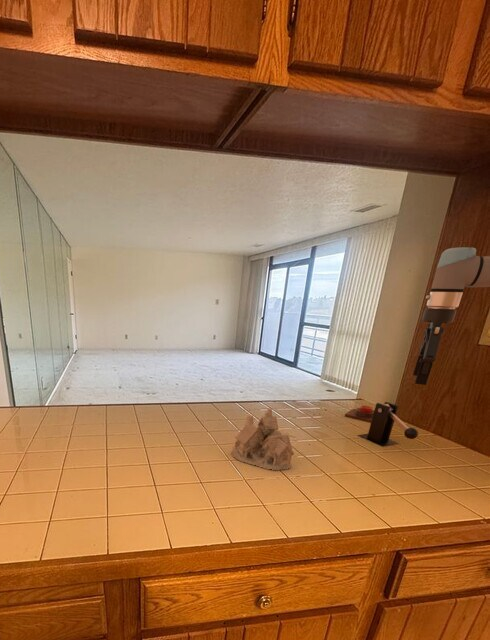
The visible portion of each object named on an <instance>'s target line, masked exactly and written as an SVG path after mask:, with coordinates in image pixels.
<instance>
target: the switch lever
mask: <svg viewBox="0 0 490 640" xmlns="http://www.w3.org/2000/svg"><path fill="white" fill-rule="evenodd" d="M382 404H383V403H382ZM383 405H386V406H389V405H388V404H383ZM389 407H390V406H389ZM393 410H394V409H393V408H392V407H390V410H389V414H388V415H389V416H390V417H391V418H392V419H393V420H394V423H396V424H397V425H398V426H399V427H400V428H401V429H402V430H404V432H403V435H404V437H405V438H406V439H409V440H414V439H416V438H417V437H418V436H419V431H418V429H416V428H415V427H408V426H407V425H406V423H405V422H404V421H403V420H402V419H400V418H399V417H398V416H397V414H396V415H395V414H394V413H393V412H392V411H393Z"/></svg>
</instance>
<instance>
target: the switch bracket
mask: <svg viewBox="0 0 490 640" xmlns="http://www.w3.org/2000/svg"><path fill="white" fill-rule="evenodd" d="M384 404H388V405H389V406H390V407H392V408H393V409H394V410H393V411H392V412H393V413H394V414H395V415H396V416H397V414H398V410H399V407H400V405H398V404H396V403H395V404H394V403H392V402H389V401H384ZM389 406H386V405H383V403H380V402H377V403H375V406H374V409H373V410H374V414H373V418H372V421H371V423H370V425H369V429H368V432H367V433H362V434H357V437H359V438H361V439H364V440H366V441H369V442H371V443H373V444H375V445H378V446H380V447H381V448H384V447H389V446H394V445H399V444H400V443H399V442H397V441H395V440H392V439H390V438H391V433H392V430H393V427H394V424H395V421H394V420H393V419H392V418H391V417H390V416H389V415H388V414H389V410H390V407H389Z"/></svg>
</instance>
